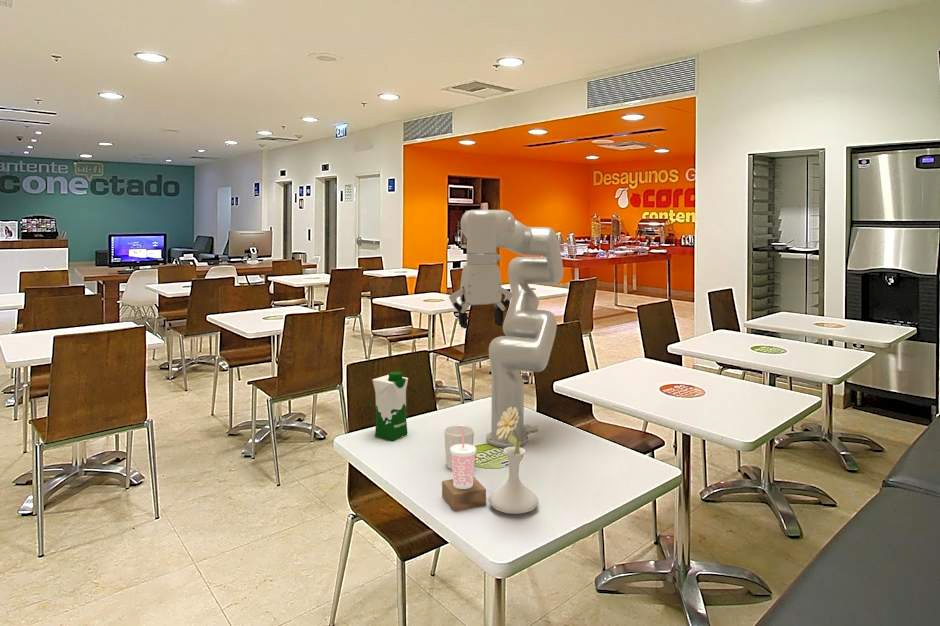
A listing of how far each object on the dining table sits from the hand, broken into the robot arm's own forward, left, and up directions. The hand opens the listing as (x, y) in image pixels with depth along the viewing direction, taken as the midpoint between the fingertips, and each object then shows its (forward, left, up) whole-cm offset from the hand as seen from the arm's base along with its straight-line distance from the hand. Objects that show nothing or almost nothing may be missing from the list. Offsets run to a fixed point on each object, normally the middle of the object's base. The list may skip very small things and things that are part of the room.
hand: (481, 326), depth 164 cm
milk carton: (+16, -32, -38) cm, 53 cm away
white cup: (+5, -3, -38) cm, 39 cm away
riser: (+12, +17, -38) cm, 43 cm away
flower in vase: (+2, +25, -38) cm, 46 cm away
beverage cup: (+12, +17, -34) cm, 40 cm away
